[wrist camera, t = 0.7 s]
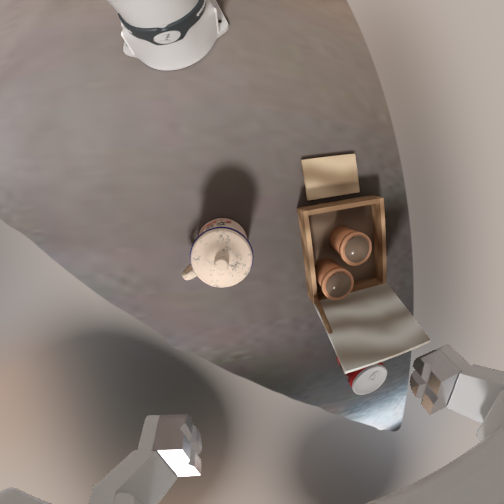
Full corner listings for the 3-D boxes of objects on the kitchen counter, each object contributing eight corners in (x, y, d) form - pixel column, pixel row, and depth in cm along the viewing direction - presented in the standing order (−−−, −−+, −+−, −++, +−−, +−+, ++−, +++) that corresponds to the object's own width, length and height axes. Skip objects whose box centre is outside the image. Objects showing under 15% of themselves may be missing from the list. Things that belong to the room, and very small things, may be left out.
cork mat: (300, 160, 45) (301, 160, 45) (353, 153, 46) (354, 153, 45) (307, 200, 48) (307, 200, 47) (358, 191, 48) (359, 192, 47)
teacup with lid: (229, 205, 47) (230, 218, 36) (258, 249, 50) (268, 273, 38) (172, 244, 48) (157, 268, 37) (202, 284, 51) (196, 317, 39)
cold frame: (296, 207, 48) (340, 235, 29) (372, 195, 48) (441, 214, 30) (309, 309, 54) (345, 374, 35) (376, 292, 55) (429, 342, 36)
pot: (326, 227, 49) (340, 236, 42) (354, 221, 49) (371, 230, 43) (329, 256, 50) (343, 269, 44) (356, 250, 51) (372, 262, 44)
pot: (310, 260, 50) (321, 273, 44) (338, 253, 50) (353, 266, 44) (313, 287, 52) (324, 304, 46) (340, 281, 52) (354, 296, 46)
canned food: (371, 337, 58) (393, 365, 48) (358, 364, 60) (376, 394, 50) (343, 335, 57) (363, 366, 47) (330, 363, 59) (347, 396, 49)
